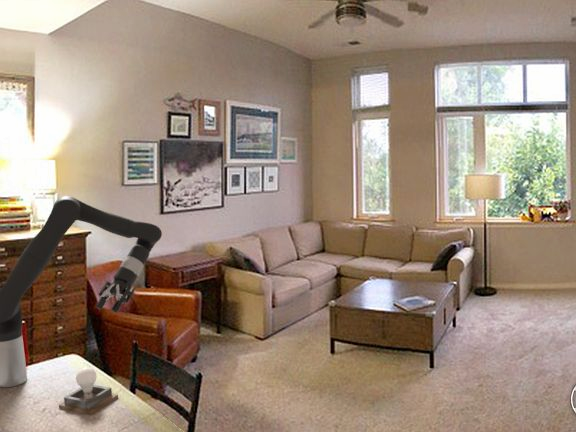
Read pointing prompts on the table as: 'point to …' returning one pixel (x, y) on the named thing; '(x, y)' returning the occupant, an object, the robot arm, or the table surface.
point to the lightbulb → (86, 381)
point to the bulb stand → (90, 406)
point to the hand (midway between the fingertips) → (105, 309)
